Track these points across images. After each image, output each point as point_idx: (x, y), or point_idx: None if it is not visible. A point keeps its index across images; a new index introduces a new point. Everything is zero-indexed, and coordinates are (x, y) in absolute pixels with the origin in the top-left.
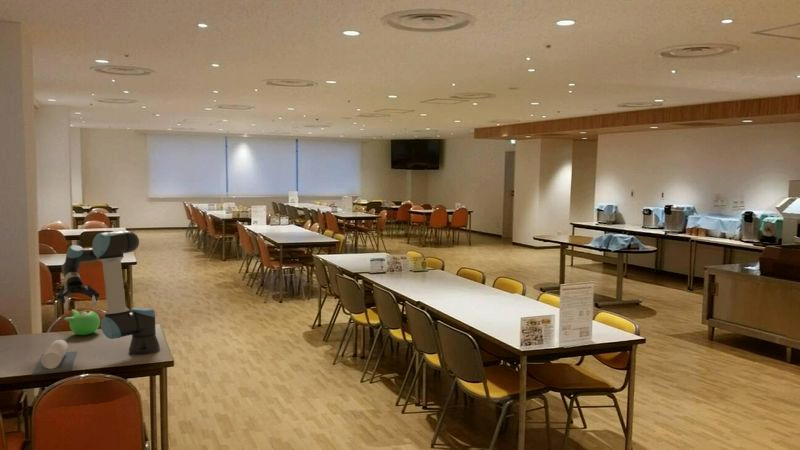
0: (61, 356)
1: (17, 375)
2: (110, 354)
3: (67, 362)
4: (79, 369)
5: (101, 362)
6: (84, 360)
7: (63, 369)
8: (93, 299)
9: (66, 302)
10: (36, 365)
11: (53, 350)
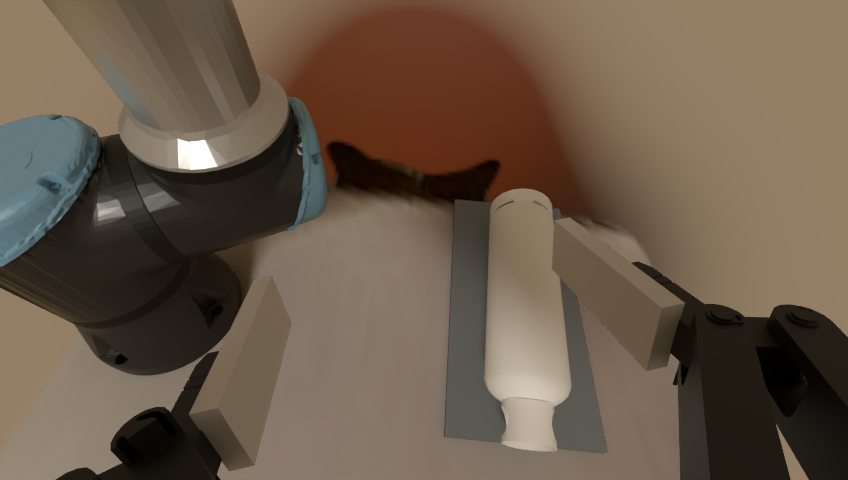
0: (491, 220)
1: (602, 229)
2: (310, 325)
3: (470, 269)
4: (430, 206)
5: (361, 241)
6: (413, 289)
7: (475, 206)
8: (256, 346)
9: (577, 227)
10: None
11: (524, 207)
